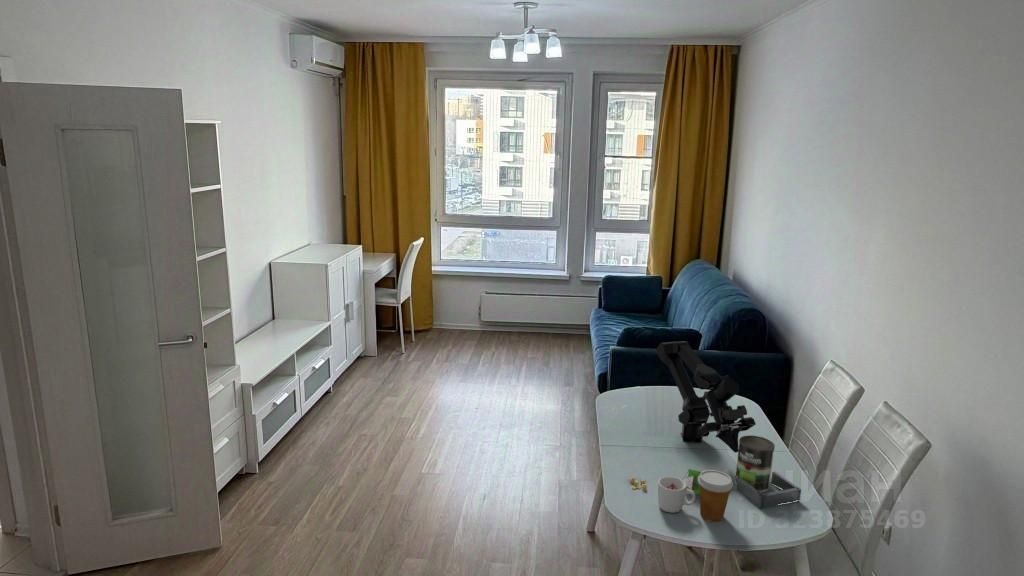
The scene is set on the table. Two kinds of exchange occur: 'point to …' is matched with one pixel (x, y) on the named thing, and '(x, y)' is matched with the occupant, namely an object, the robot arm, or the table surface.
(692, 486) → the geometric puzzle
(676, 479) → the cup
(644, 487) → the dice set
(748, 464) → the coffee can
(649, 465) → the table surface
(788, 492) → the grey shallow tray
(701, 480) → the disposable coffee cup
